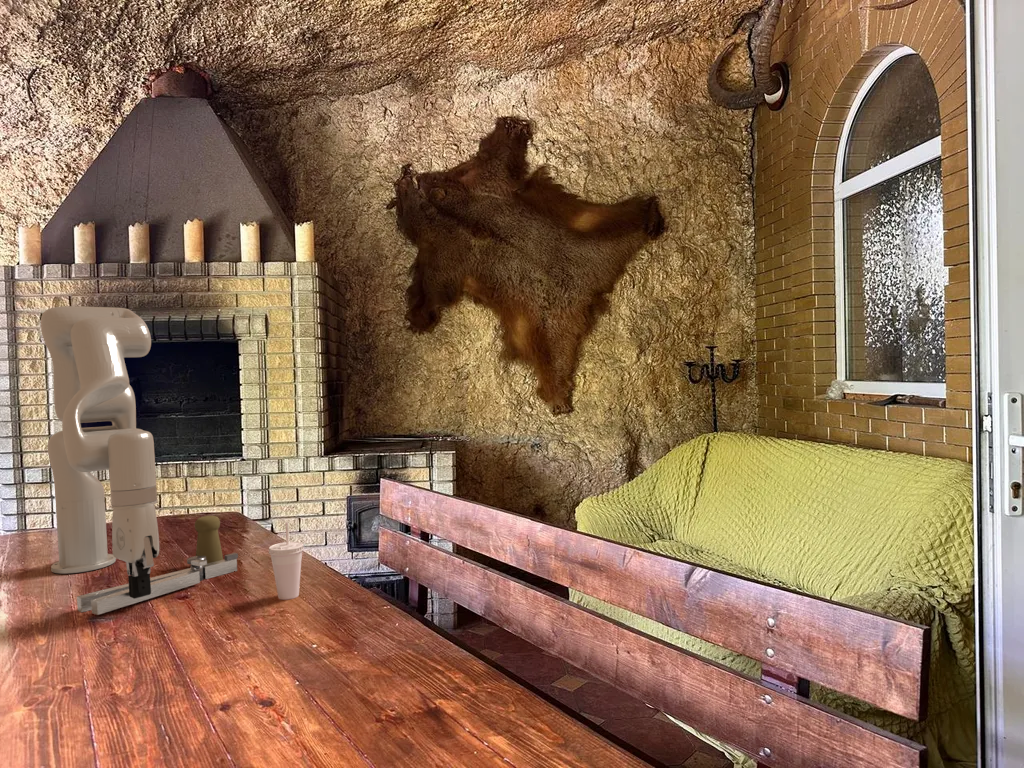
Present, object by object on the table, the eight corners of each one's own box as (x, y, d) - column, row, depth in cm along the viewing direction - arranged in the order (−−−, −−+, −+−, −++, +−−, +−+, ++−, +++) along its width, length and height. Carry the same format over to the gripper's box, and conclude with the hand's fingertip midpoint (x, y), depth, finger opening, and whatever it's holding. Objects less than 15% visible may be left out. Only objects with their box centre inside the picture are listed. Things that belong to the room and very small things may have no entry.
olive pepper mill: (213, 569, 152) (210, 519, 151) (188, 568, 153) (186, 519, 153) (229, 561, 158) (227, 513, 157) (206, 560, 159) (203, 513, 159)
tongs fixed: (77, 610, 128) (76, 590, 128) (234, 568, 152) (233, 552, 152) (82, 612, 127) (80, 593, 126) (239, 570, 150) (239, 553, 150)
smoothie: (313, 592, 133) (309, 519, 133) (292, 603, 127) (288, 527, 127) (285, 589, 135) (281, 518, 135) (263, 600, 129) (259, 526, 129)
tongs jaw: (81, 610, 127) (80, 587, 126) (200, 574, 147) (199, 554, 147) (97, 614, 124) (96, 592, 123) (216, 577, 144) (215, 557, 144)
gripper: (96, 498, 130) (102, 595, 130) (129, 504, 121) (135, 608, 121) (138, 491, 136) (144, 584, 136) (172, 497, 126) (178, 596, 127)
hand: (140, 595), depth 129 cm, fingers closed
